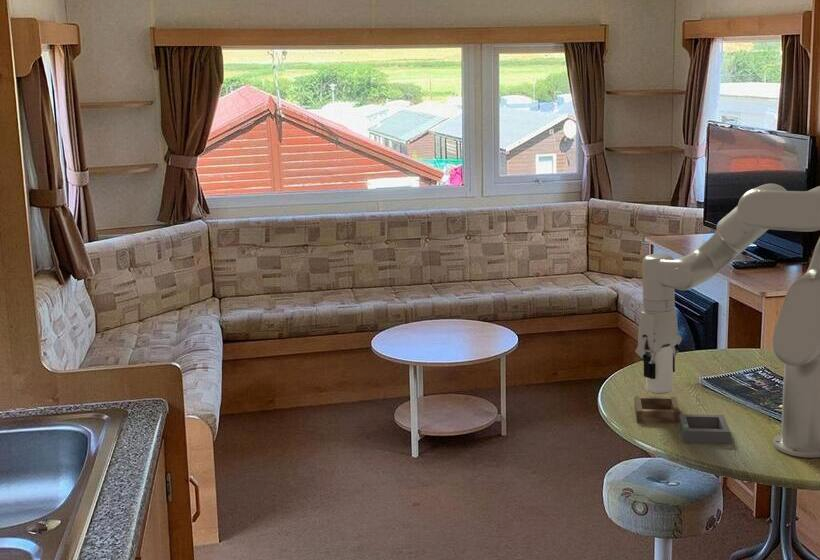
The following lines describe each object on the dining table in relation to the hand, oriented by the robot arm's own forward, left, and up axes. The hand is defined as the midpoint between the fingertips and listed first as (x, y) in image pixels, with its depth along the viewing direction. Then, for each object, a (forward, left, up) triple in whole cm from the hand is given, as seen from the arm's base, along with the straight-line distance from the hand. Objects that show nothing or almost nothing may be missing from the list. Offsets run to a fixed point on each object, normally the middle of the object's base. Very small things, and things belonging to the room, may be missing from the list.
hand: (659, 373), depth 235 cm
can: (0, 0, -4) cm, 4 cm away
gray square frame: (-10, +12, -11) cm, 19 cm away
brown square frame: (0, 0, -11) cm, 11 cm away
